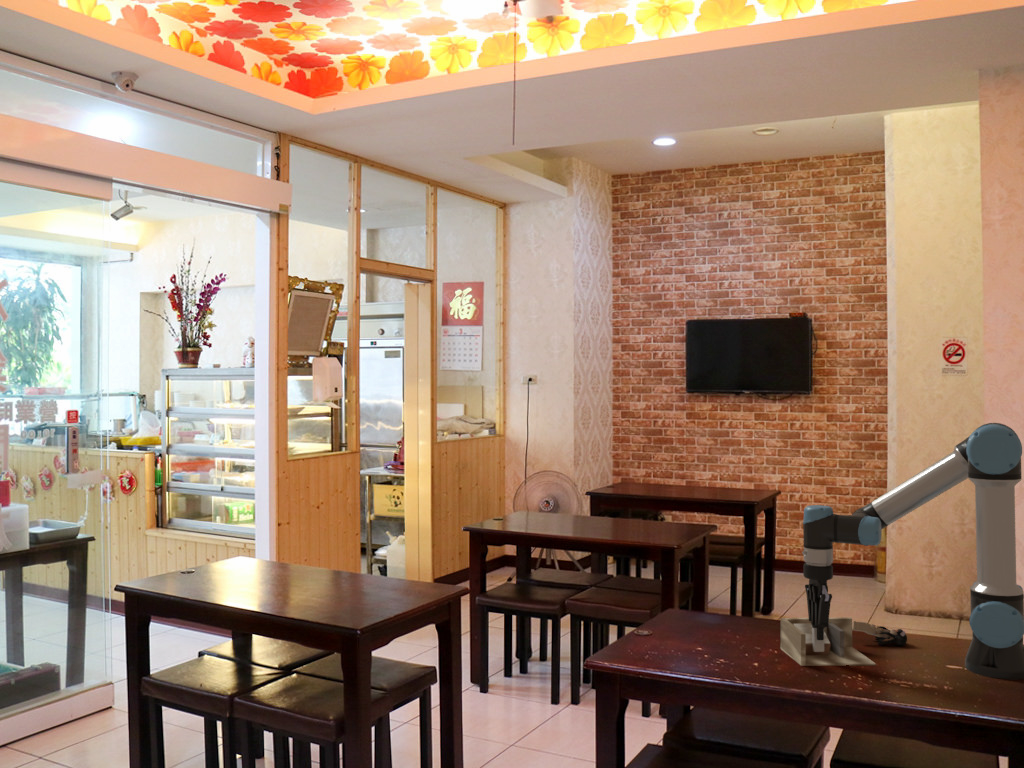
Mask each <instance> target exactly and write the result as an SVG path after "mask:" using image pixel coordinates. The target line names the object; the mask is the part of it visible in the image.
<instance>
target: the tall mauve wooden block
mask: <svg viewBox="0 0 1024 768" xmlns="http://www.w3.org/2000/svg"><path fill="white" fill-rule="evenodd" d="M793 625H794V626H795V627H797V628H798V629H799V630H801V631H802V632H803V633H805V634H806V655H828V654H829V650H830V646H831V643H830V641H829V639H828V637H827V635H826V633H825V631H824V652H814V651H813V650H812V645H813V644H812V624H811V623H801V624H793Z"/></svg>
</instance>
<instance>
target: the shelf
mask: <svg viewBox="0 0 1024 768" xmlns="http://www.w3.org/2000/svg"><path fill="white" fill-rule="evenodd" d="M801 623H811V621H809V617H783V618H782V617H781V618H780V625H779V626H780V627H779V628H780V629H779V630H780V636H779V637H780V638H779V639H780V640H779V641H780V646H779V647H780V648H779V649H780V650H781V651H782V652H783V653H785V654H786V655H787V656H788V657H790V658H791V659H792V660H793V661H795V662H796V663H797V664H798V665H799V666H802V667H803V666H804V667H805V666H806V667H809V666H811V667H813V666H814V667H815V666H817V667H819V666H820V667H822V666H825V667H826V666H828V667H829V666H833V667H835V666H843V667H845V666H846V665H849V666H876V665H877V663H875V662H874V661H873V660H871V659H870V658H869V657H867V656H866V655H865V654H863V653H861V652H860V651H858V650H857V649H856V648H854V647H853V630H852V624H853V618H852V617H843V616H842V617H829V622H828V627H825V628H824V631H825V633H826V635H827V637H828V639H829V641H830V643H831V646H830V650H829V654H828V655H806V634H805V633H803V632H802V631H801V630H799V629H798V628H797V627H795V626H794V625H793V624H801Z"/></svg>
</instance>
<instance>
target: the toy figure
mask: <svg viewBox="0 0 1024 768" xmlns="http://www.w3.org/2000/svg"><path fill="white" fill-rule="evenodd" d="M853 631H855V632H863V633H866V634H867V635H870V636H874V639H875V641H876V642H877V644H878V646H885V645H891V644H894V645H897V646H899V647H900V646H901V647H904V646H905V645H907V642H908V636H907V633H906V631H905V630H903V629H902V628H898V629H896V628H895V629H893V628H891V629H889V628H888V627H886V626H884V625H883V626H881V625H877V626H876V625H875V624H872V623H871V624H870V623H869V622H865V621H856V620H852V632H853Z"/></svg>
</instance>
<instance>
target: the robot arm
mask: <svg viewBox="0 0 1024 768" xmlns="http://www.w3.org/2000/svg"><path fill="white" fill-rule="evenodd" d="M1022 455H1023V444H1022V441H1021V439H1020V438H1019V435H1018V434H1017V433H1016V432H1015V430H1014V429H1013V428H1011V427H1010V426H1008V425H1006V424H1003V423H1000V422H988V423H984V424H982V425H980V426H979V427H977V428H975V429H974V430H973V432H972V433H971V434H970V435H969V436H968V437H966V438H965V439H964V440H962V441H961V442H959V443H957V444H956V445H954V449H953V452H950V453H949V454H947V455H946V456H944V457H942V458H940V459H939V460H937V461H936V462H934V463H933V464H931V465H929V466H928V467H926V468H924V469H923V470H922V471H919V472H918V473H916V474H915V475H913V476H911V477H910V478H908V479H906V480H905V481H903V482H902V483H900V484H898V485H897V486H895V487H893V488H892V489H890V490H889V491H887V492H885V493H883V494H882V495H881V496H878V497H877V498H875V499H874V500H873V501H871V502H869V503H868V504H866V505H864V506H862V507H861V508H858V509H857V510H855V511H853V513H852V514H851V515H848V514H836V513H834V512H833V510H834V509H833V508H832V507H831V506H829V505H821V504H817V505H815V504H812V505H806V507H804V509H803V522H802V529H803V538H802V539H803V551H801V554H802V555H803V561H804V564H802V565H803V577H804V578H805V579H807V580H808V584H805V585H804V588H805V593H806V602H807V604H806V605H807V612H808V615H807V616H808V618H809V621H811V624H812V644H813V645H812V650H813V651H814V652H824V628H825V627H828V622H829V618H830V611H831V610H830V609H831V602H832V598H833V595H832V593H829V587H828V581H830V580H832V579H833V577H834V566H833V565H832V564H833V562H834V548H833V547H834V546H833V543H837V544H848V545H858V546H859V545H860V546H865V547H866V546H879V545H880V543H881V541H882V530H883V529H885V528H887V527H888V526H889V525H891V524H893V523H894V522H897V521H898V520H900V519H901V518H903V517H905V516H906V515H908V514H910V513H911V512H914V511H915V510H916V509H918V508H920V507H922V506H923V505H925V504H927V503H929V502H930V501H932V500H933V499H936V498H937V497H938V496H940V495H942V494H944V493H946V492H947V491H949V490H951V489H952V488H954V487H955V486H957V485H959V484H961V483H963V482H964V481H965V480H967V479H968V480H969V481H970V482H972V484H973V485H974V489H975V490H974V493H975V495H974V496H975V498H974V499H975V541H976V542H975V544H976V546H975V547H976V548H975V549H976V553H975V554H976V581H974V582H973V584H972V585H970V586H969V587H970V591H969V592H970V595H969V596H970V598H969V599H970V601H969V602H970V616H969V620H968V621H969V623H968V624H969V626H970V629H971V631H972V639H971V641H970V645H969V647H968V650H967V653H966V655H965V658H964V668H965V669H966V670H968V671H969V672H970V673H973V674H976V675H979V676H983V677H987V678H993V679H1001V680H1015V681H1016V680H1017V681H1019V680H1024V588H1023V587H1022V586H1021V585H1019V584H1017V543H1016V542H1017V541H1016V539H1017V538H1016V496H1015V495H1016V493H1015V491H1016V490H1015V489H1016V488H1015V486H1016V485H1018V484H1019V483H1020V482H1021V481H1022Z"/></svg>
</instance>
